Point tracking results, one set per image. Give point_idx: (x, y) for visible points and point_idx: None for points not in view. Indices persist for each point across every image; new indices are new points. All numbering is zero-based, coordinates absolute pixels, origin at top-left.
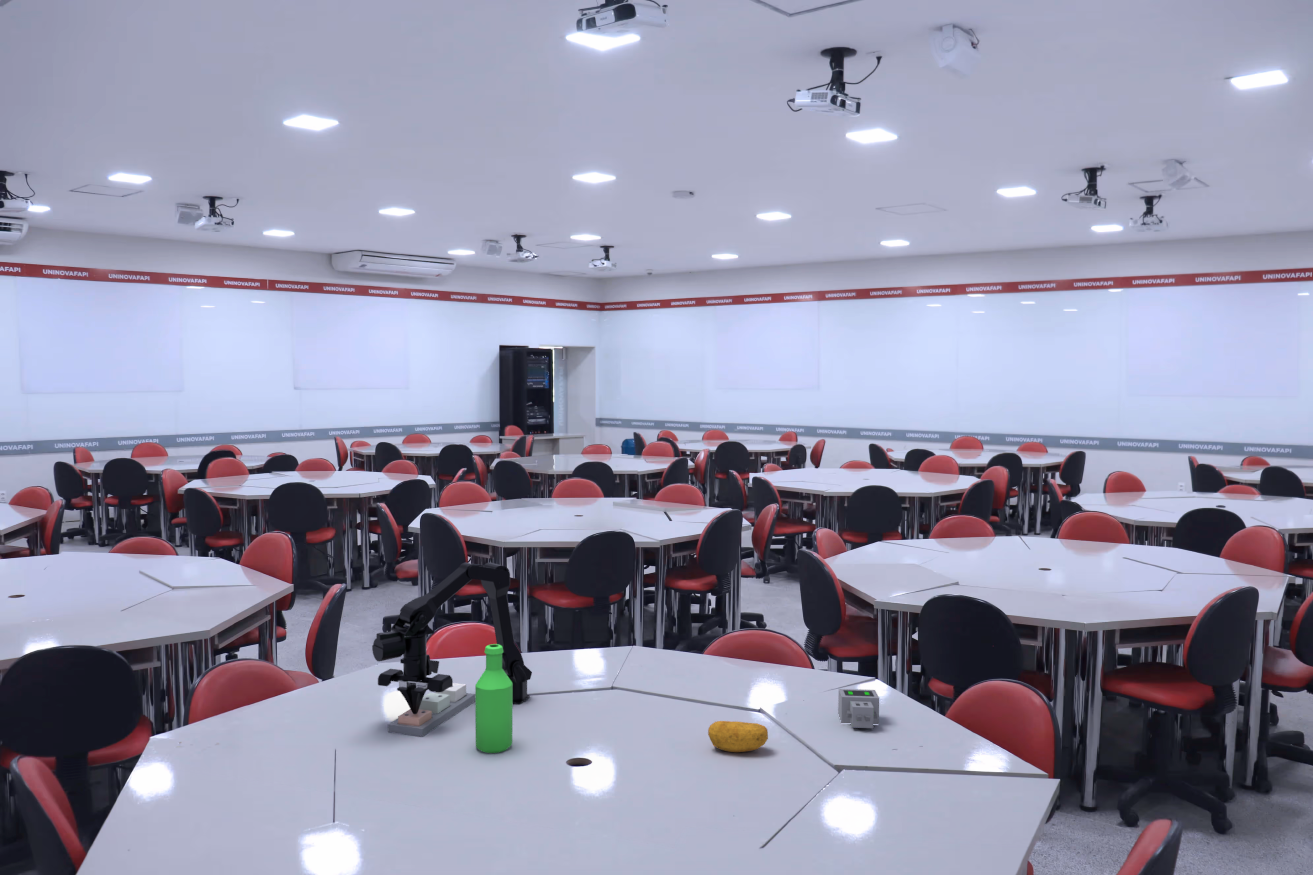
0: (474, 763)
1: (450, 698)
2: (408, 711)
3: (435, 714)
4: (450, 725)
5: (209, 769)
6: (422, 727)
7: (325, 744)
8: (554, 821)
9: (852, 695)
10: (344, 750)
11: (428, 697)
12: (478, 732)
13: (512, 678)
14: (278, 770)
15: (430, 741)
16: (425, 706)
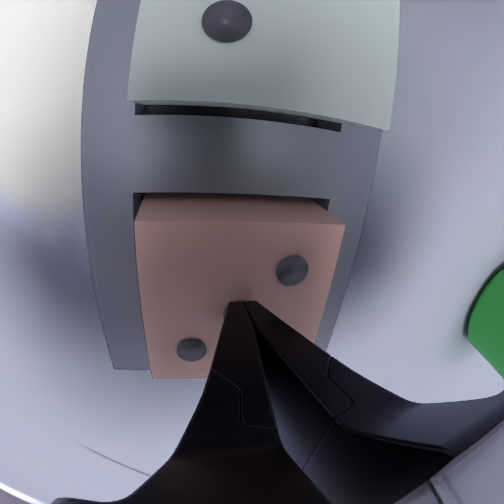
0: (449, 374)
1: None
2: (158, 291)
3: (325, 143)
4: (393, 174)
5: (10, 479)
6: (317, 345)
7: (37, 432)
8: None
9: None
10: (115, 450)
11: (233, 3)
12: (493, 367)
13: None
14: (89, 491)
15: (351, 347)
16: (231, 105)
